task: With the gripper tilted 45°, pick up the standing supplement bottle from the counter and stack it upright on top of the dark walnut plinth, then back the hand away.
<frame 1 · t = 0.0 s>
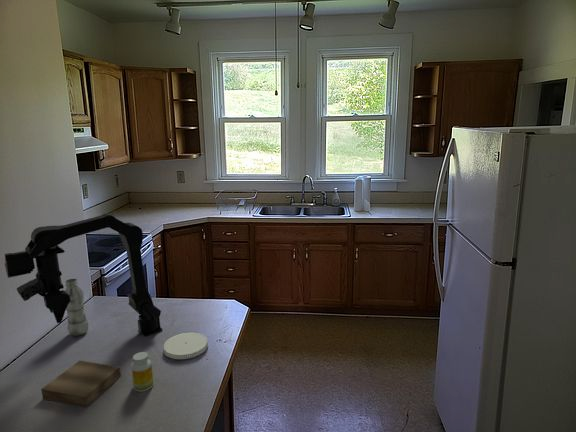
hand: (55, 317, 126), 15 cm above the counter, tool pointing down, fingers open, 9 cm apart
walnut plinth: (83, 386, 116), on the counter
plastic lid: (186, 350, 135), on the counter
plastic bottle: (79, 334, 146), on the counter
supplement bottle: (143, 387, 116), on the counter
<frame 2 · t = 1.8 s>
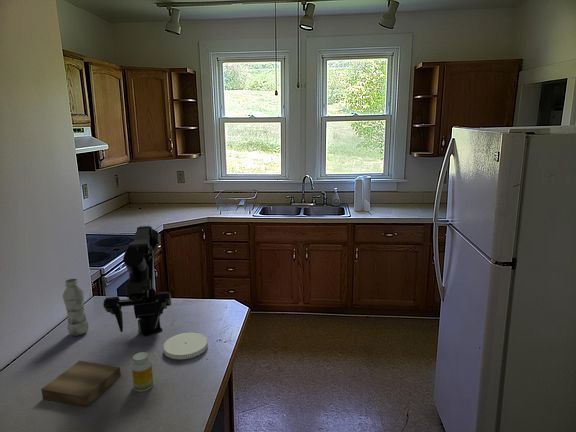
hand: (138, 329, 120), 13 cm above the counter, tool tilted 45°, fingers open, 9 cm apart
nothing on the counter moved.
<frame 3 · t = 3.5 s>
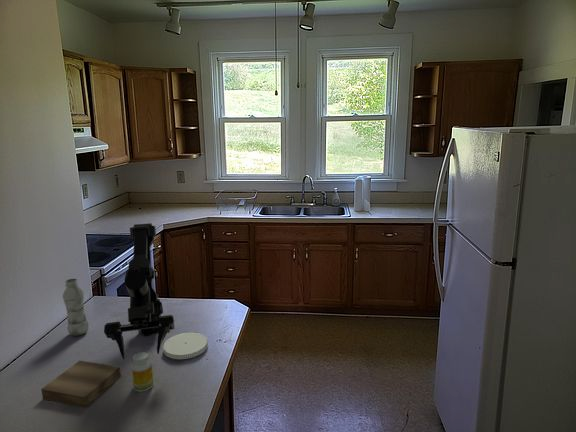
hand: (140, 356, 115), 9 cm above the counter, tool tilted 45°, fingers open, 9 cm apart
nothing on the counter moved.
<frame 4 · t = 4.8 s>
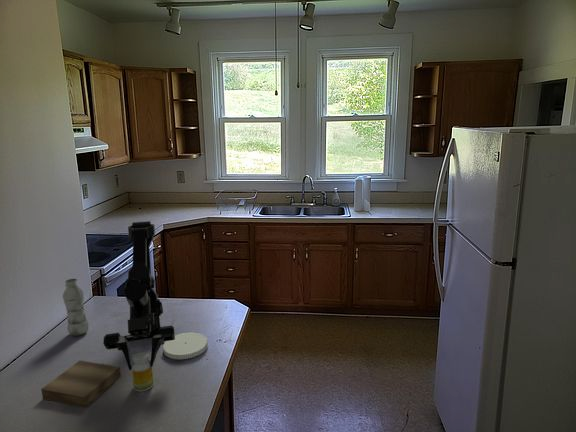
hand: (140, 368, 113), 7 cm above the counter, tool tilted 45°, fingers closed on supplement bottle, 5 cm apart
supplement bottle: (143, 386, 116), on the counter, touching gripper
everything else where it was.
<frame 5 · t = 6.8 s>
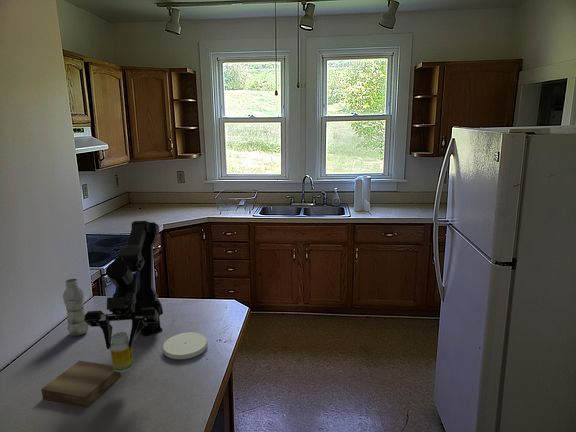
hand: (119, 348, 111), 13 cm above the counter, tool tilted 45°, fingers closed on supplement bottle, 5 cm apart
supplement bottle: (123, 367, 114), point 6 cm above the counter, touching gripper
everything else where it was.
when the fingers open (11 cm above the counter, at t = 8.8 s): supplement bottle stays where it is, resting on walnut plinth.
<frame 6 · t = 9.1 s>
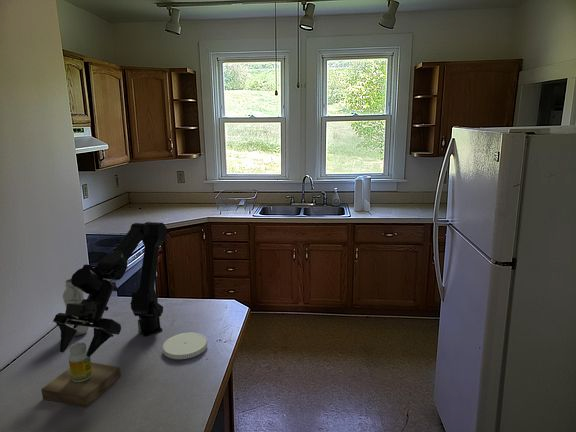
hand: (74, 354, 112), 11 cm above the counter, tool tilted 45°, fingers open, 8 cm apart
supplement bottle: (82, 377, 116), point 3 cm above the counter, touching walnut plinth
everything else where it was.
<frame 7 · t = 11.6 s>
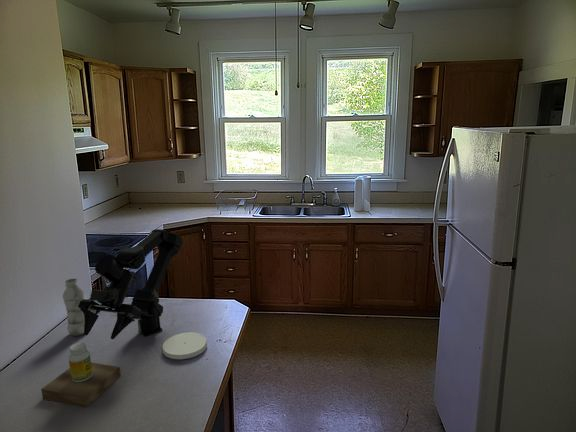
hand: (98, 337, 121), 11 cm above the counter, tool tilted 45°, fingers open, 9 cm apart
nothing on the counter moved.
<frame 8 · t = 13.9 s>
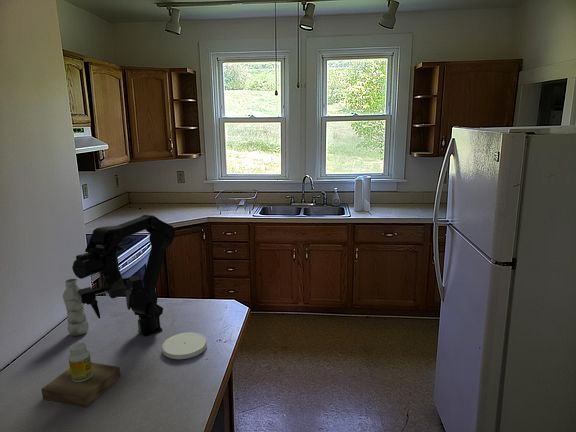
hand: (114, 313, 132), 13 cm above the counter, tool pointing down, fingers open, 9 cm apart
nothing on the counter moved.
at the end: supplement bottle inside the target area on the walnut plinth (0.1 cm from its centre), point 2.8 cm above the walnut plinth's base; supplement bottle tilted 0°; the gripper is holding nothing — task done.
